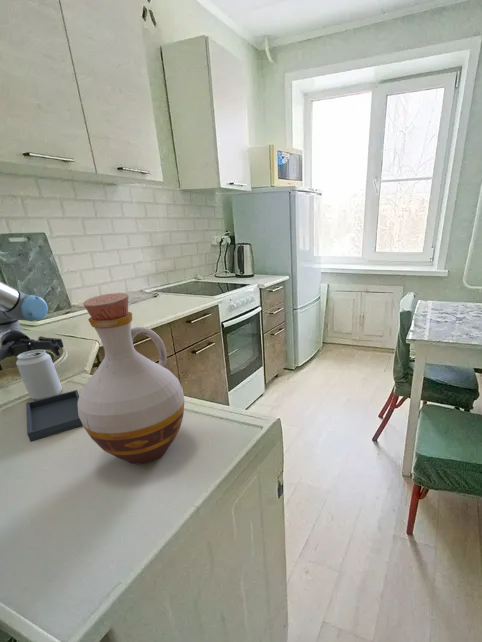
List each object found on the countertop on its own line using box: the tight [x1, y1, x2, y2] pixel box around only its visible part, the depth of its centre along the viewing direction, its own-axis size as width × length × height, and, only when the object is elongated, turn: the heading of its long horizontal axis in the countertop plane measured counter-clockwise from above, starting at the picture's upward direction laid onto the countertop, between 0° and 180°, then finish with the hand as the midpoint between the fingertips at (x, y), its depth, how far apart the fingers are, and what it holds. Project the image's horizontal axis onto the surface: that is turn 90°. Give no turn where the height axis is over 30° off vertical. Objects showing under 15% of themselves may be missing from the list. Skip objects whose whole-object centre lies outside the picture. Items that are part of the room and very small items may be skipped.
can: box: [15, 350, 63, 401], centre depth 92 cm, size 8×8×12 cm
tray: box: [25, 389, 83, 442], centre depth 83 cm, size 17×11×2 cm, turn 35°
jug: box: [78, 292, 185, 465], centre depth 64 cm, size 20×18×30 cm
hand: (29, 358), depth 97 cm, fingers open, 13 cm apart
